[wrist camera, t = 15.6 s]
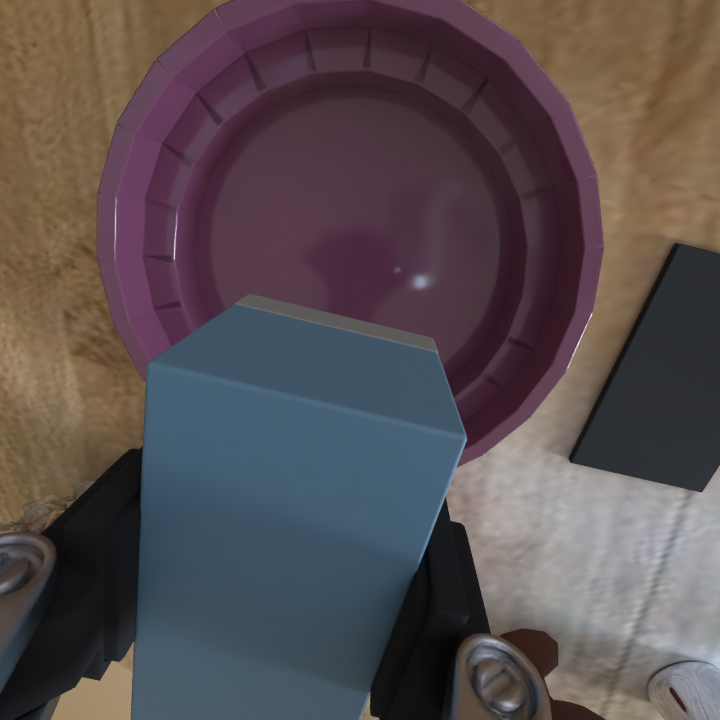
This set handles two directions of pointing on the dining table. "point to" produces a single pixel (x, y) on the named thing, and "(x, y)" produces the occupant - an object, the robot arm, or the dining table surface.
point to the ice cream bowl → (547, 670)
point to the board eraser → (283, 510)
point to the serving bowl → (359, 191)
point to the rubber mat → (665, 383)
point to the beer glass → (686, 691)
